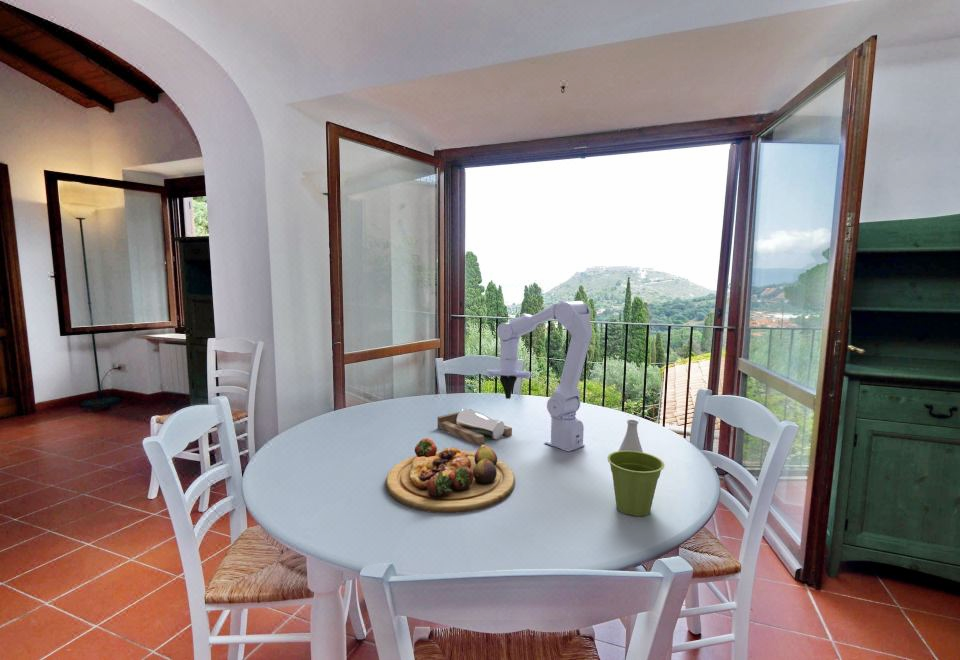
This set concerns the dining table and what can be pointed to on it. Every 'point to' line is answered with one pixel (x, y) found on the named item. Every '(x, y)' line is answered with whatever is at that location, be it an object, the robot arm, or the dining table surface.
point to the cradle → (451, 426)
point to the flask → (631, 438)
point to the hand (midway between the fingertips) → (508, 398)
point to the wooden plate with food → (450, 479)
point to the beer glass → (480, 423)
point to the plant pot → (634, 480)
